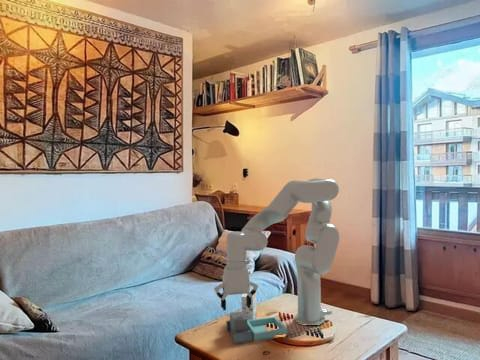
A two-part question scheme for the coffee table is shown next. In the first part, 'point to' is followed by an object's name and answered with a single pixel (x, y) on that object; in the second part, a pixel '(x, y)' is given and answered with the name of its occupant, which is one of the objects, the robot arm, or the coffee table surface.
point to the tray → (260, 331)
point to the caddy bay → (240, 335)
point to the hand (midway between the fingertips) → (236, 308)
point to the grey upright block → (237, 322)
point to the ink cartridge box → (250, 312)
